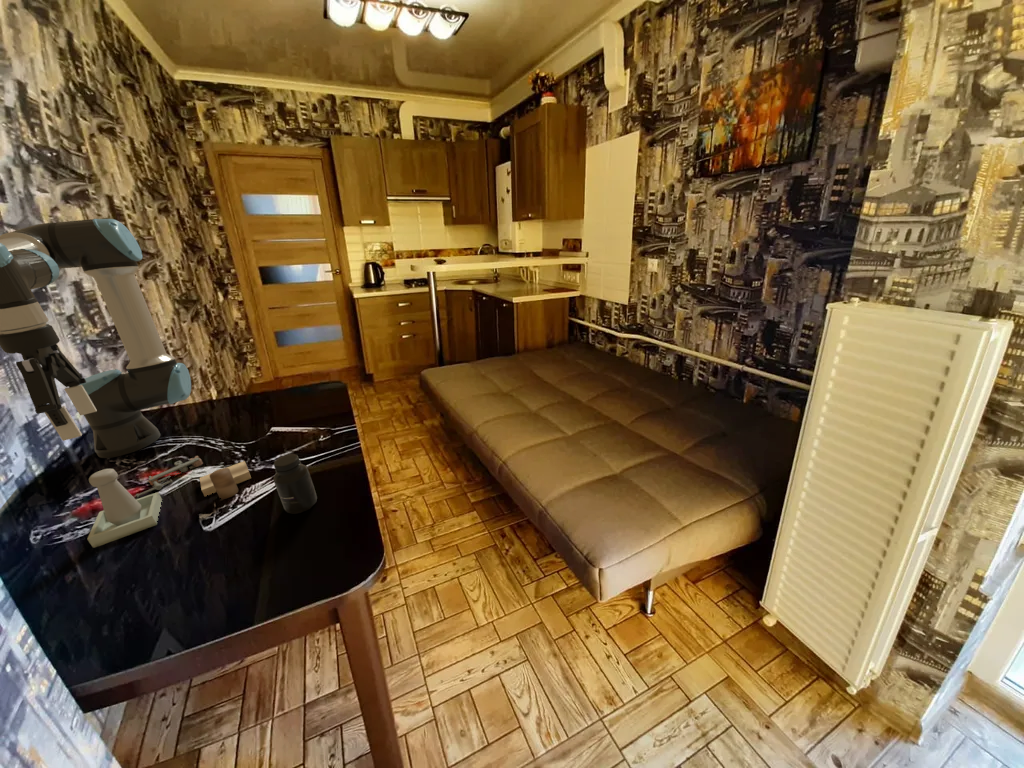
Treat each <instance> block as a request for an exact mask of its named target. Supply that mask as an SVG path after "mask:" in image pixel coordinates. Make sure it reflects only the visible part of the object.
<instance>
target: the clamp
mask: <svg viewBox="0 0 1024 768" xmlns="http://www.w3.org/2000/svg"><path fill="white" fill-rule="evenodd" d="M173 464H174V466H173V467H171V468H170V469H167V470H165V471H162V472H160V473H158V474H155V475H153V476H151V475H149V476H148V482H149V484H150V486H153V487H152V488H150V489H148V490H145V491H143V492H140V493H136V494H135V496H136V498H139V497H141V496H143V495H145V494H148V493H149V492H152V491H159V490H161V489H162V488H163V487H164V486H166V485H168V484H170V483H171V484H172V483H174V482H173V480H172V478H170V477H171V476H170V475H169V474H171V473H173V472H175V471H177V472H176V473H178V472H179V471H181V474H182V472H183V473H185V472H187V471H189V470H188V467H189V468H190V470H192V469H194V468H197V467H199V466H202V465H203V464H204V462H203V460H202V459H201V458H200V456H199V455H195V456H194V457H192V458H189V461H185V462H183V461H182V460H177V461H175V462H174V463H173ZM178 470H179V471H178ZM179 473H180V472H179ZM167 475H168V476H167ZM164 476H165V477H164ZM176 476H177V475H175V476H174V477H176ZM162 477H163V478H162ZM160 478H161V479H160ZM167 478H168V479H167ZM166 479H167V480H168V481H166ZM164 480H165V481H166V482H164ZM161 481H162V482H161ZM163 482H164V483H163Z"/></svg>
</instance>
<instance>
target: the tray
mask: <svg viewBox="0 0 1024 768" xmlns="http://www.w3.org/2000/svg"><path fill="white" fill-rule="evenodd" d="M135 499H136V500H137V501H138V502H139V503H140V504H141V513H140V518H139V519H137V520H134V521H131V522H128V523H126V524H123V525H120V526H117V525H115V524H112V523H110V522H109V521H108V520H107V519H106V515H105V512H104V509H103V510H101V511H99V512H98V514H97V516H96V517H95V518H96V519H95V521H94V523H93V526H92V527H91V530H90V532H89V534H88V536H87V541H88V543H89V544H90V545H91V547H92V548H93V549H95V548H98V547H101V546H103V545H105V544H108V543H111V542H114V541H117V540H119V539H122V538H124V537H127V536H130V535H133V534H136V533H138V532H141V531H143V530H147V529H148V528H152V527H155V526H157V525H158V522H157V521H159V518H158V516H159V517H160V514H159V512H160V513H161V509H160V507H161V508H162V505H161V502H162V503H163V501H162V500H163V498H162V497H161V494H160V493H159V492H158V491H157V492H155V493H151V494H148V495H145V496H142V497H140V498H139V497H138V498H135Z"/></svg>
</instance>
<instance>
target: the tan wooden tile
mask: <svg viewBox="0 0 1024 768" xmlns="http://www.w3.org/2000/svg"><path fill="white" fill-rule="evenodd" d="M226 468H229V469H230V472H231V474H232V476H233V478H234V481H235V483H236V485H239V484H240V483H243V482H245V481H247V480H250V479H252V477H251V473H250V471H249V468H248V466H247V463H246V461H245V460H242V461H241V462H238V463H235V464H233V465H230V466H227V467H226ZM210 474H211V473H209V474H206V475H203V476H200V477H199V481H200V488H201V493H202V494H203V496H204V497H207V495H208V496H210V495H212V493H213V494H215V493H217V491H216V489H215V487H214V485H213V483H212V481H211V479H210Z"/></svg>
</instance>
